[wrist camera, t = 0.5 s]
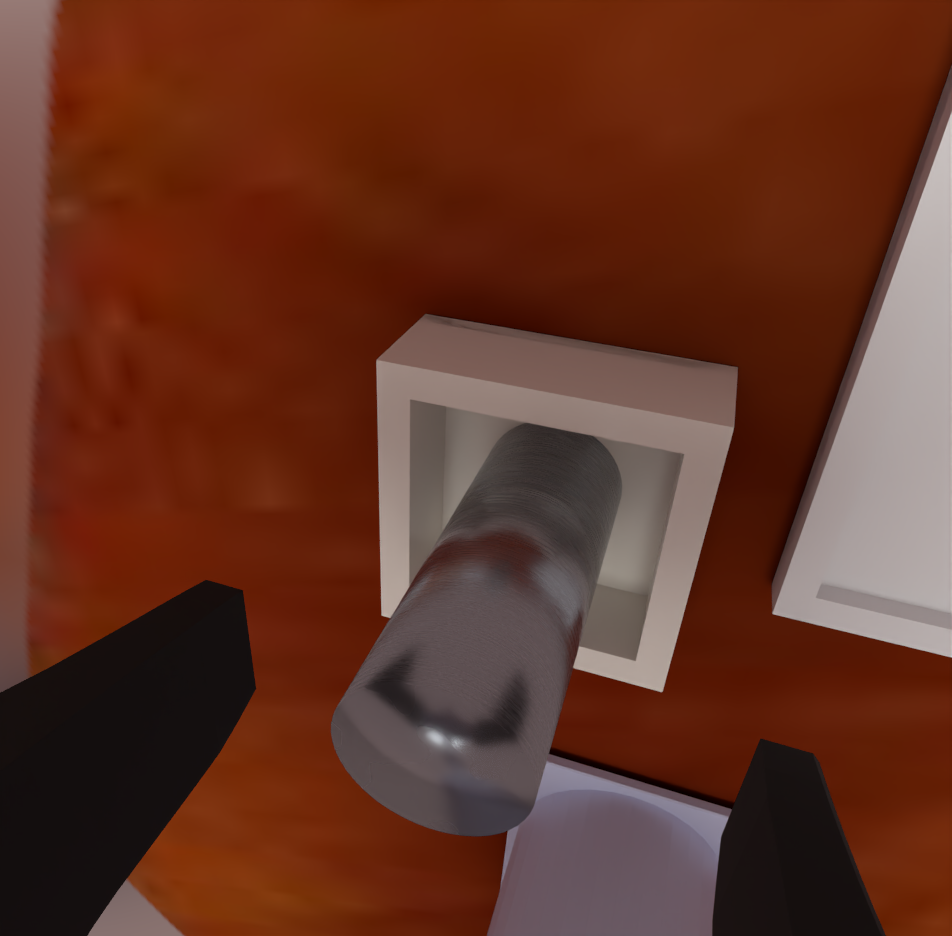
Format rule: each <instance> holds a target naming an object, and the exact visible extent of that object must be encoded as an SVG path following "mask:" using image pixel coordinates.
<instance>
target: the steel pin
mask: <svg viewBox="0 0 952 936" xmlns="http://www.w3.org/2000/svg"><path fill="white" fill-rule="evenodd" d="M621 496H622V480H621V475H620V471H619V469H618V466H617V464H616V462H615V460H614V458H613V456H612V455H611V454H610V452H609V451H608V449H607V448H606V447H605V446H604V445H603V444H602V443H601V442H600V441H599V440H597V439H596V438H595V437H594V436H591V435H586V434H581V433H576V432H571V431H566V430H561V429H556V428H551V427H546V426H541V425H536V424H531V423H524V424H521V425H519V426H516V427H514V428H513V429H511V430H509V431H508V432H506V433H505V434H504V435H503V436H502V437H501V438H500V439H499V440H498V441H497V442H496V444H495V445H494V447H493V448H492V450H491V452H490V453H489V455H488V457H487V458H486V460H485V462H484V463H483V465H482V467H481V468H480V470H479V472H478V473H477V475H476V476H475V478H474V480H473V481H472V483H471V485H470V486H469V488H468V490H467V491H466V493H465V495H464V496H463V498H462V500H461V501H460V503H459V505H458V506H457V508H456V510H455V511H454V513H453V515H452V516H451V518H450V520H449V521H448V523H447V525H446V526H445V528H444V530H443V531H442V533H441V535H440V536H439V538H438V540H437V541H436V543H435V545H434V546H433V548H432V550H431V551H430V553H429V555H428V556H427V558H426V560H425V561H424V563H423V565H422V566H421V568H420V570H419V571H418V573H417V575H416V576H415V578H414V580H413V581H412V583H411V585H410V586H409V588H408V590H407V591H406V593H405V595H404V596H403V598H402V600H401V601H400V603H399V605H398V606H397V608H396V610H395V611H394V613H393V615H392V616H391V618H390V620H389V621H388V623H387V625H386V626H385V628H384V630H383V631H382V633H381V635H380V636H379V638H378V640H377V641H376V643H375V645H374V646H373V648H372V650H371V651H370V653H369V655H368V656H367V658H366V660H365V661H364V663H363V665H362V666H361V668H360V670H359V671H358V673H357V675H356V676H355V678H354V679H353V681H352V683H351V684H350V686H349V688H348V689H347V691H346V693H345V694H344V696H343V698H342V699H341V701H340V703H339V704H338V706H337V708H336V710H335V712H334V714H333V718H332V723H331V735H332V741H333V744H334V747H335V750H336V753H337V755H338V757H339V759H340V761H341V763H342V764H343V766H344V767H345V769H346V770H347V772H348V773H349V774H350V775H351V777H352V778H353V779H354V780H355V781H356V782H357V783H358V784H359V786H360V787H361V788H362V789H364V790H365V791H366V792H367V793H368V794H369V795H370V796H371V797H373V798H374V799H375V800H377V801H378V802H379V803H381V804H382V805H384V806H385V807H387V808H388V809H390V810H391V811H393V812H395V813H396V814H398V815H400V816H402V817H404V818H406V819H408V820H410V821H412V822H414V823H417V824H419V825H422V826H425V827H427V828H430V829H434V830H437V831H440V832H445V833H449V834H455V835H463V836H489V835H494V834H499V833H502V832H505V831H508V830H510V829H512V828H514V827H516V826H518V825H519V824H520V823H522V822H523V821H524V820H525V819H526V818H527V817H528V816H529V814H530V813H531V811H532V809H533V807H534V804H535V801H536V797H537V794H538V790H539V787H540V783H541V780H542V776H543V772H544V769H545V765H546V762H547V758H548V755H549V751H550V748H551V744H552V741H553V737H554V734H555V730H556V727H557V723H558V719H559V716H560V712H561V709H562V705H563V702H564V698H565V695H566V691H567V688H568V684H569V681H570V677H571V673H572V670H573V666H574V663H575V659H576V656H577V652H578V649H579V645H580V642H581V638H582V635H583V631H584V627H585V624H586V620H587V617H588V613H589V610H590V606H591V603H592V599H593V596H594V592H595V589H596V585H597V582H598V578H599V574H600V571H601V567H602V564H603V560H604V557H605V553H606V550H607V546H608V543H609V539H610V536H611V532H612V528H613V525H614V521H615V518H616V514H617V511H618V507H619V504H620V500H621Z"/></svg>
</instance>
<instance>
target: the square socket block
mask: <svg viewBox="0 0 952 936" xmlns="http://www.w3.org/2000/svg"><path fill="white" fill-rule="evenodd" d="M376 370H377V417H378V465H379V513H380V561H381V609H382V616H385V617H389V618H391V616H392V615H393V613H394V611H395V610H396V608H397V606H398V605H399V603H400V601H401V600H402V598H403V596H404V595H405V593H406V591H407V590H408V588H409V586H410V585H411V583H412V581H413V580H414V578H415V576H416V575H417V573H418V571H419V570H420V568H421V566H422V565H423V563H424V561H425V560H426V558H427V556H428V555H429V553H430V551H431V550H432V548H433V546H434V545H435V543H436V541H437V540H438V538H439V536H440V535H441V533H442V531H443V530H444V528H445V526H446V525H447V523H448V521H449V520H450V518H451V516H452V515H453V513H454V511H455V510H456V508H457V506H458V505H459V503H460V501H461V500H462V498H463V496H464V495H465V493H466V491H467V490H468V488H469V486H470V485H471V483H472V481H473V480H474V478H475V476H476V475H477V473H478V472H479V470H480V468H481V467H482V465H483V463H484V462H485V460H486V458H487V457H488V455H489V453H490V452H491V450H492V448H493V447H494V445H495V444H496V442H497V441H498V440H499V439H500V438H501V437H502V436H503V435H504V434H505V433H506V432H508V431H509V430H511V429H513V428H514V427H516V426H519V425H521V424H524V423H531V424H536V425H541V426H546V427H551V428H556V429H561V430H566V431H571V432H576V433H581V434H586V435H591V436H594V437H595V438H596V439H597V440H599V441H600V442H601V443H602V444H603V445H604V446H605V447H606V448H607V449H608V451H609V452H610V454H611V455H612V456H613V458H614V460H615V462H616V464H617V466H618V469H619V471H620V475H621V480H622V496H621V500H620V504H619V507H618V511H617V514H616V518H615V521H614V525H613V528H612V532H611V536H610V539H609V543H608V546H607V550H606V553H605V557H604V560H603V564H602V567H601V571H600V574H599V578H598V582H597V585H596V589H595V592H594V596H593V599H592V603H591V606H590V610H589V613H588V617H587V620H586V624H585V627H584V631H583V635H582V638H581V642H580V645H579V649H578V652H577V656H576V659H575V663H574V666H573V668H575V669H579V670H583V671H586V672H590V673H594V674H597V675H601V676H605V677H608V678H612V679H616V680H619V681H623V682H626V683H630V684H634V685H637V686H641V687H645V688H648V689H652V690H656V691H659V692H663V688H664V684H665V681H666V677H667V673H668V670H669V666H670V662H671V659H672V655H673V651H674V647H675V644H676V640H677V636H678V633H679V629H680V625H681V622H682V618H683V614H684V611H685V607H686V603H687V600H688V596H689V592H690V589H691V585H692V581H693V577H694V574H695V570H696V566H697V563H698V559H699V555H700V552H701V548H702V544H703V541H704V537H705V533H706V530H707V526H708V522H709V519H710V515H711V511H712V507H713V504H714V500H715V496H716V493H717V489H718V485H719V482H720V478H721V474H722V471H723V467H724V463H725V460H726V456H727V452H728V449H729V445H730V441H731V437H732V434H733V430H734V423H735V407H736V392H737V377H738V367H734V366H728V365H722V364H716V363H710V362H704V361H698V360H693V359H687V358H681V357H675V356H669V355H663V354H658V353H652V352H646V351H640V350H634V349H628V348H622V347H617V346H611V345H605V344H599V343H593V342H587V341H582V340H576V339H570V338H564V337H558V336H552V335H546V334H541V333H535V332H529V331H523V330H517V329H511V328H506V327H500V326H494V325H488V324H482V323H476V322H470V321H465V320H459V319H453V318H447V317H441V316H435V315H430V314H425V315H424V316H423V317H422V318H421V319H420V320H419V321H417V322H416V323H415V324H414V325H413V326H412V327H411V328H410V329H409V330H408V331H407V332H406V333H405V334H404V335H402V336H401V337H400V338H399V339H398V340H397V341H396V342H395V343H394V344H393V345H392V346H391V347H390V348H389V349H387V350H386V351H385V352H384V353H383V354H382V355H381V356H380V357H379V358H378V359H377V360H376Z"/></svg>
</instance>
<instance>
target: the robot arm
mask: <svg viewBox="0 0 952 936" xmlns="http://www.w3.org/2000/svg"><path fill="white" fill-rule="evenodd" d="M255 689H256V686H255V678H254V671H253V663H252V656H251V649H250V641H249V634H248V626H247V619H246V611H245V604H244V597H243V590H240V589H236V588H233V587H229V586H226V585H222V584H219V583H215V582H212V581H208V580H205V581H203V582H201V583H199V584H198V585H196V586H194V587H192V588H190V589H188V590H186V591H185V592H183V593H181V594H179V595H177V596H176V597H174V598H172V599H170V600H169V601H167V602H165V603H163V604H162V605H160V606H158V607H156V608H155V609H153V610H151V611H149V612H148V613H146V614H144V615H142V616H141V617H139V618H137V619H135V620H134V621H132V622H130V623H128V624H127V625H125V626H123V627H121V628H120V629H118V630H116V631H114V632H113V633H111V634H109V635H107V636H105V637H104V638H102V639H100V640H98V641H96V642H95V643H93V644H91V645H89V646H88V647H86V648H84V649H82V650H80V651H79V652H77V653H75V654H73V655H71V656H70V657H68V658H66V659H64V660H62V661H61V662H59V663H57V664H55V665H53V666H51V667H50V668H48V669H46V670H44V671H42V672H40V673H38V674H36V675H34V676H32V677H30V678H28V679H26V680H24V681H22V682H21V683H19V684H17V685H15V686H13V687H11V688H9V689H7V690H5V691H3V692H1V693H0V936H87V935H88V934H89V932H90V930H91V929H92V927H93V926H94V924H95V923H96V921H97V920H98V918H99V917H100V915H101V914H102V913H103V911H104V910H105V908H106V907H107V905H108V904H109V902H110V901H111V900H112V898H113V897H114V895H115V894H116V892H117V891H118V889H119V888H120V887H121V885H122V884H123V883H124V882H125V880H126V879H127V878H128V876H129V875H130V873H131V872H132V871H133V869H134V868H135V867H136V865H137V864H138V863H139V861H140V860H141V859H142V857H143V856H144V855H145V853H146V852H147V851H148V849H149V848H150V847H151V845H152V844H153V843H154V841H155V840H156V839H157V837H158V836H159V835H160V833H161V832H162V830H163V829H164V828H165V826H166V825H167V824H168V822H169V821H170V820H171V818H172V817H173V816H174V814H175V813H176V812H177V810H178V809H179V808H180V806H181V805H182V804H183V802H184V801H185V800H186V798H187V797H188V795H189V794H190V793H191V791H192V790H193V789H194V787H195V786H196V785H197V783H198V782H199V780H200V779H201V778H202V776H203V775H204V774H205V772H206V771H207V770H208V768H209V767H210V765H211V764H212V763H213V761H214V760H215V758H216V757H217V756H218V754H219V753H220V751H221V750H222V748H223V746H224V744H225V743H226V741H227V739H228V738H229V736H230V734H231V733H232V731H233V729H234V727H235V726H236V724H237V722H238V720H239V719H240V717H241V715H242V713H243V711H244V709H245V708H246V706H247V704H248V702H249V700H250V699H251V697H252V695H253V693H254V691H255ZM487 936H886V935H885V933H884V930H883V928H882V926H881V924H880V921H879V919H878V917H877V914H876V912H875V910H874V908H873V905H872V903H871V900H870V898H869V895H868V893H867V891H866V888H865V886H864V883H863V881H862V878H861V876H860V873H859V871H858V868H857V866H856V863H855V861H854V858H853V855H852V853H851V850H850V848H849V845H848V843H847V840H846V837H845V835H844V832H843V829H842V827H841V824H840V821H839V818H838V816H837V813H836V810H835V807H834V804H833V802H832V799H831V796H830V793H829V790H828V787H827V784H826V781H825V778H824V775H823V772H822V769H821V766H820V763H819V761H818V760H817V759H816V757H815V756H814V754H813V753H809V752H806V751H802V750H799V749H795V748H792V747H788V746H785V745H781V744H778V743H774V742H771V741H767V740H764V739H760V741H759V744H758V746H757V749H756V751H755V754H754V756H753V759H752V761H751V764H750V766H749V769H748V771H747V773H746V776H745V778H744V781H743V783H742V786H741V788H740V791H739V793H738V796H737V798H736V801H735V803H734V806H733V808H732V809H730V808H726V807H723V806H720V805H716V804H713V803H710V802H706V801H703V800H700V799H697V798H693V797H690V796H687V795H683V794H680V793H677V792H673V791H670V790H667V789H663V788H660V787H657V786H654V785H650V784H647V783H644V782H640V781H637V780H634V779H630V778H627V777H624V776H621V775H617V774H614V773H611V772H607V771H604V770H601V769H597V768H594V767H591V766H587V765H584V764H581V763H578V762H574V761H571V760H568V759H564V758H561V757H558V756H554V755H551V754H549V755H548V758H547V762H546V765H545V769H544V772H543V776H542V780H541V783H540V787H539V790H538V794H537V797H536V801H535V804H534V807H533V809H532V811H531V813H530V814H529V816H528V817H527V818H526V819H525V820H524V821H523V822H522V823H520V824H519V825H518V826H516V827H514V828H512V829H510V830H508V833H507V840H506V848H505V856H504V864H503V872H502V879H501V887H500V892H499V896H498V899H497V902H496V906H495V909H494V913H493V916H492V919H491V923H490V926H489V930H488V933H487Z"/></svg>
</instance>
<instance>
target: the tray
mask: <svg viewBox="0 0 952 936" xmlns="http://www.w3.org/2000/svg"><path fill="white" fill-rule="evenodd" d="M772 614H774V615H778V616H783V617H787V618H791V619H795V620H799V621H803V622H807V623H812V624H816V625H820V626H824V627H828V628H832V629H836V630H841V631H845V632H849V633H853V634H857V635H861V636H865V637H869V638H874V639H878V640H882V641H886V642H890V643H894V644H898V645H903V646H907V647H911V648H915V649H919V650H923V651H927V652H932V653H936V654H940V655H944V656H948V657H952V66H951V68H950V71H949V74H948V77H947V80H946V83H945V86H944V89H943V92H942V94H941V97H940V100H939V103H938V106H937V109H936V112H935V115H934V118H933V120H932V123H931V126H930V129H929V132H928V135H927V138H926V141H925V143H924V146H923V149H922V152H921V155H920V158H919V161H918V164H917V167H916V169H915V172H914V175H913V178H912V181H911V184H910V187H909V190H908V193H907V195H906V198H905V201H904V204H903V207H902V210H901V213H900V216H899V218H898V221H897V224H896V227H895V230H894V233H893V236H892V239H891V242H890V244H889V247H888V250H887V253H886V256H885V259H884V262H883V265H882V268H881V270H880V273H879V276H878V279H877V282H876V285H875V288H874V291H873V293H872V296H871V299H870V302H869V305H868V308H867V311H866V314H865V317H864V319H863V322H862V325H861V328H860V331H859V334H858V337H857V340H856V342H855V345H854V348H853V351H852V354H851V357H850V360H849V363H848V366H847V368H846V371H845V374H844V377H843V380H842V383H841V386H840V389H839V392H838V394H837V397H836V400H835V403H834V406H833V409H832V412H831V415H830V417H829V420H828V423H827V426H826V429H825V432H824V435H823V438H822V441H821V443H820V446H819V449H818V452H817V455H816V458H815V461H814V464H813V467H812V469H811V472H810V475H809V478H808V481H807V484H806V487H805V490H804V492H803V495H802V498H801V501H800V504H799V507H798V510H797V513H796V516H795V518H794V521H793V524H792V527H791V530H790V533H789V536H788V539H787V541H786V544H785V547H784V550H783V553H782V556H781V559H780V562H779V565H778V567H777V570H776V573H775V576H774V579H773V582H772Z"/></svg>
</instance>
